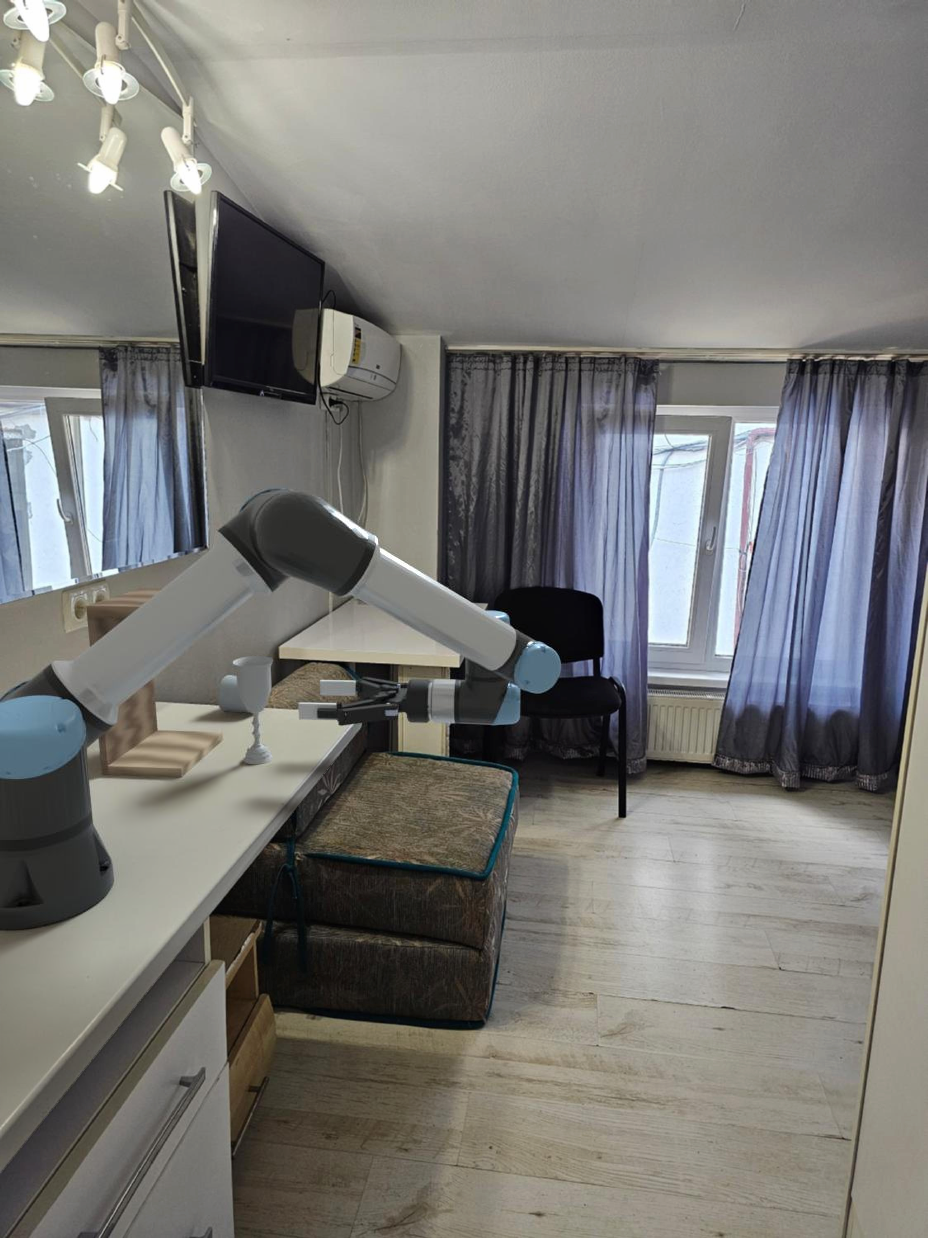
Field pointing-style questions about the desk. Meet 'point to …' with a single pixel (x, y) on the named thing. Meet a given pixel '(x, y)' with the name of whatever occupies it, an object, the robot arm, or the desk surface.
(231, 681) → the ceramic mug
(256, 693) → the chalice
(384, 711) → the robot arm
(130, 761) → the walnut shelf
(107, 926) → the desk surface
